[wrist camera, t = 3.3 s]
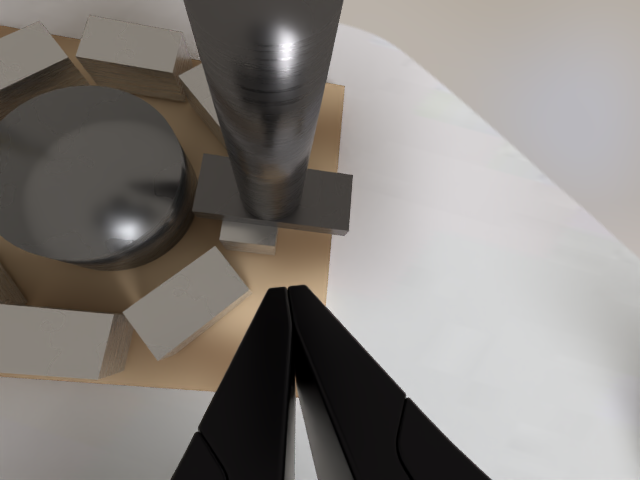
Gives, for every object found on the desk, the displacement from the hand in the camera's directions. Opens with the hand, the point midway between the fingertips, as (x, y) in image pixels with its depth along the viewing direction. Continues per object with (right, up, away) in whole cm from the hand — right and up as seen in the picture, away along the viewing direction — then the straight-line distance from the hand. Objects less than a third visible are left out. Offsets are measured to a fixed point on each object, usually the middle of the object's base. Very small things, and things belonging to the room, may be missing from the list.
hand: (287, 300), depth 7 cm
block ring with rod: (-7, +3, +8) cm, 11 cm away
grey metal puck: (-9, +3, +8) cm, 12 cm away
